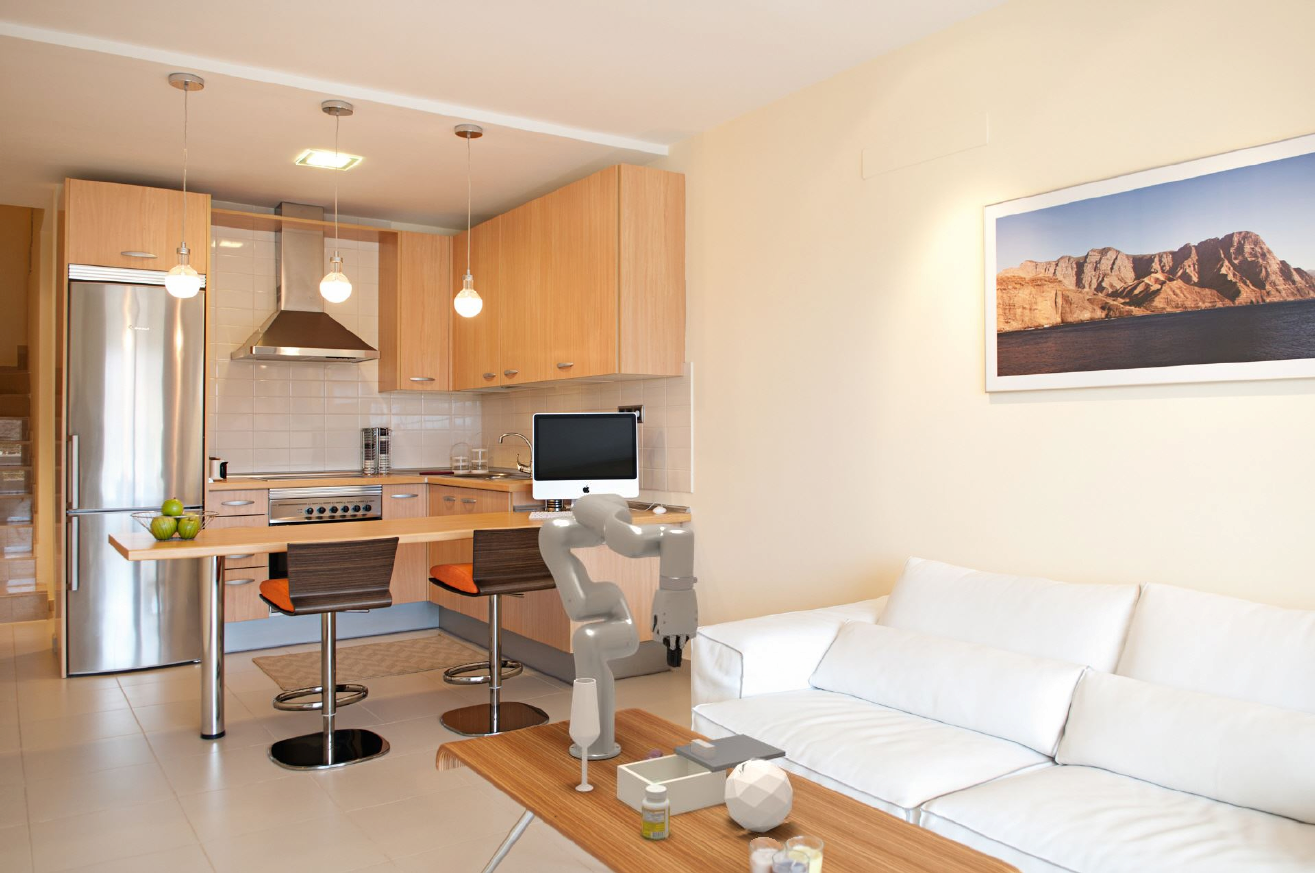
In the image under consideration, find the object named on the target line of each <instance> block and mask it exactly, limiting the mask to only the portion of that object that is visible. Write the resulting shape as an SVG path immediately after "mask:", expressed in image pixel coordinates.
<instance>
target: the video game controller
mask: <svg viewBox="0 0 1315 873" xmlns="http://www.w3.org/2000/svg"><path fill="white" fill-rule="evenodd" d="M664 754H665V753H664V752H663V751H662V750H660V749H657V748H654V750H650V751H649V752H648V753H647V756H646V757H645V758H643V759H642V760H641V761H644V760H649V759H654V758H659V757H664V756H663V755H664Z"/></svg>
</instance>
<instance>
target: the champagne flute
mask: <svg viewBox="0 0 1315 873" xmlns="http://www.w3.org/2000/svg"><path fill="white" fill-rule="evenodd" d="M571 697H572V699H571V708H570V718H569V728H568V733H569V736H570V738H571V739H572V741H573V742H574V743H576V744H578V745H579V746H580V747H582V759H581V783H580V784H579V785H577V786H575V790H576V791H579V792H588V791H592V790H594V786H593V785H591V784H589V783H588V759H587V747H589V746H590V745H591V744H592V743H593V742H594V741H595V740H596V739H597V738H598V736H599V734H600V723H599V712H598V700H597V689H596V680H594V679H590V678H581V679H576V678H575V679H574V680H573V687H572V696H571Z"/></svg>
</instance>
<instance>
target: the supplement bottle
mask: <svg viewBox="0 0 1315 873" xmlns="http://www.w3.org/2000/svg"><path fill="white" fill-rule="evenodd" d="M645 795H646V798H645V799H644V800H643V801H642V814H641V836H642V838H644V839H646V840H650V841H660V840H665V839H667V838H669V837H670V833H671V832H670V828H671V827H670V826H671V825H670V823H671V822H670V821H671V818H670V817H671V816H670V802H669V800H668V799H667V798H666V795H667V789H666V787H664V786H661V785H650V786H647V787H646V791H645Z"/></svg>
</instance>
